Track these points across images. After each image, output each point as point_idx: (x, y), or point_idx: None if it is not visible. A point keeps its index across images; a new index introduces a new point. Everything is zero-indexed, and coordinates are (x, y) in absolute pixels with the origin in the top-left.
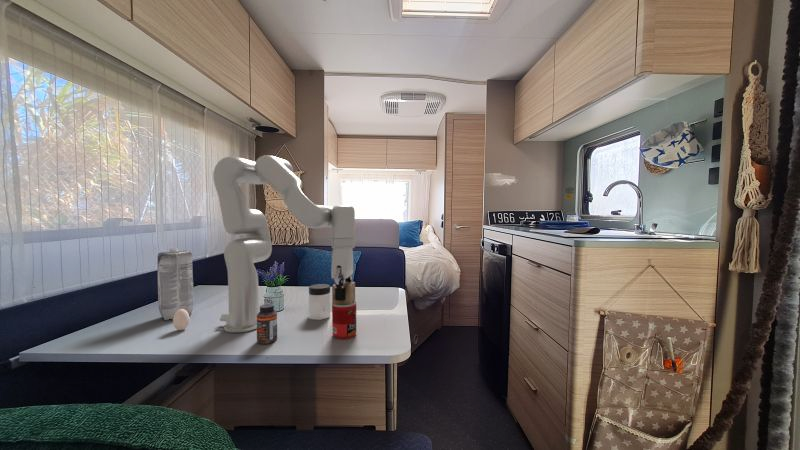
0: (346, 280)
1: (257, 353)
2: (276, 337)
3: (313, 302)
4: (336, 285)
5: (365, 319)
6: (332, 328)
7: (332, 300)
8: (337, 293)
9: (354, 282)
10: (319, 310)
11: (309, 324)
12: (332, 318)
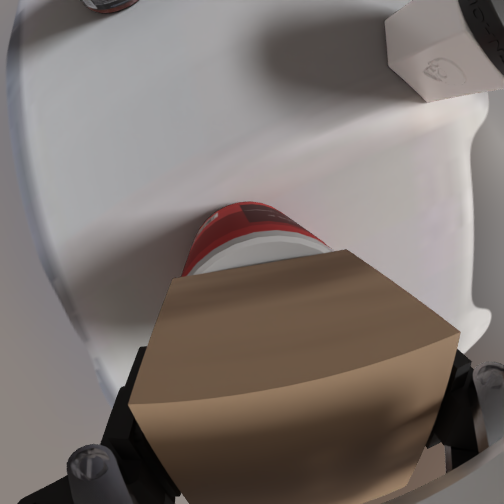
0: (461, 423)
1: (27, 41)
2: (119, 6)
3: (430, 10)
4: (52, 492)
5: (424, 269)
6: (215, 215)
7: (167, 294)
8: (113, 417)
9: (383, 495)
10: (412, 52)
11: (329, 38)
12: (209, 230)
